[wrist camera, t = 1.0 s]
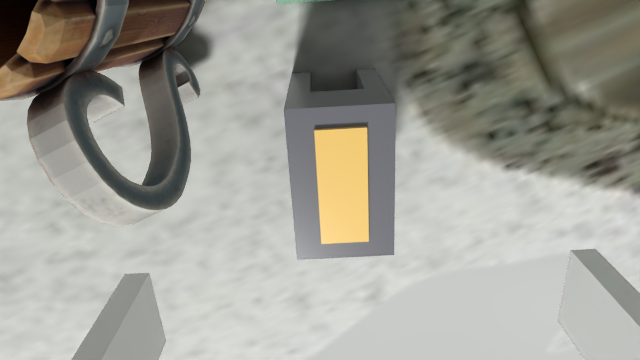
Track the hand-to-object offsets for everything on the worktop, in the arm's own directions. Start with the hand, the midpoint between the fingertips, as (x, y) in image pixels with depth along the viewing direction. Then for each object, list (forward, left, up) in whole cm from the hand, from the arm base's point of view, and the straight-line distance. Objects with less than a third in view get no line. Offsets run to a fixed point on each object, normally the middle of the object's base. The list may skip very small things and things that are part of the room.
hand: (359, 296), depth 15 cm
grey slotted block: (0, 0, -16) cm, 16 cm away
